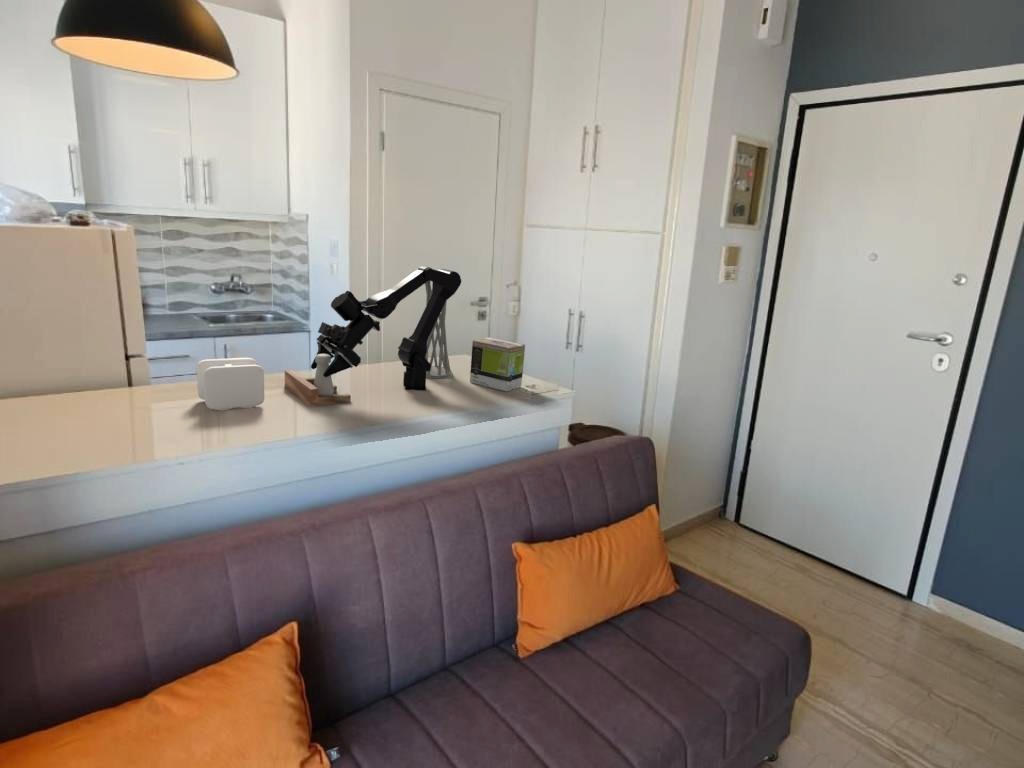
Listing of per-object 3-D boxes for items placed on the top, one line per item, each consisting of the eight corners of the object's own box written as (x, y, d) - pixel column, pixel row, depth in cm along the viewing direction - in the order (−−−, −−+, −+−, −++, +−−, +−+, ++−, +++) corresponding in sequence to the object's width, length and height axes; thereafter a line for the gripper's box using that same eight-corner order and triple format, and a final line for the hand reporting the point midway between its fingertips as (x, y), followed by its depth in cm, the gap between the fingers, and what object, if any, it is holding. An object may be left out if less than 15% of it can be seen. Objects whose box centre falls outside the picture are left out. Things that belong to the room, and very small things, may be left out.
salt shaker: (337, 400, 176) (337, 356, 172) (318, 403, 172) (317, 358, 168) (328, 394, 180) (328, 351, 176) (309, 397, 176) (308, 353, 172)
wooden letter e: (322, 382, 190) (322, 367, 189) (350, 401, 175) (350, 385, 174) (284, 386, 183) (284, 370, 182) (310, 406, 168) (311, 389, 167)
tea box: (522, 387, 207) (526, 344, 203) (505, 392, 198) (510, 348, 194) (485, 377, 214) (489, 335, 210) (468, 382, 206) (471, 339, 202)
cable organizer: (202, 412, 157) (200, 368, 154) (197, 400, 165) (195, 358, 162) (264, 407, 165) (263, 365, 162) (257, 396, 173) (256, 356, 170)
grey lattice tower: (411, 367, 218) (416, 267, 208) (449, 368, 221) (455, 270, 211) (413, 377, 205) (419, 272, 196) (453, 379, 208) (460, 275, 199)
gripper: (323, 306, 178) (285, 346, 174) (351, 319, 165) (310, 362, 161) (348, 332, 185) (312, 370, 182) (377, 345, 172) (338, 387, 168)
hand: (317, 372), depth 173 cm, fingers open, 9 cm apart
